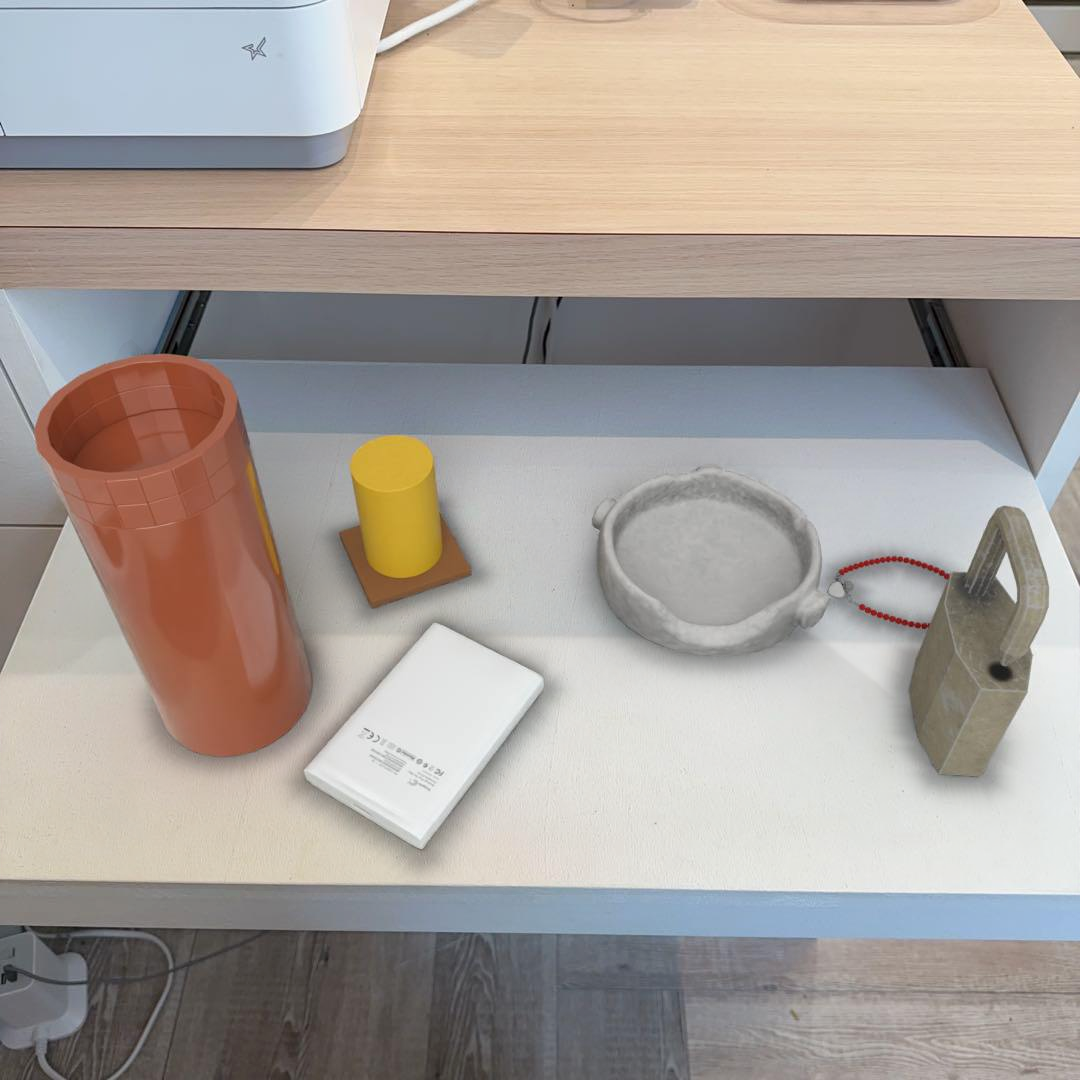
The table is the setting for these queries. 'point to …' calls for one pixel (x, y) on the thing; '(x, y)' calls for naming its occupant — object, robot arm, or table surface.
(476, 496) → the table surface
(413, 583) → the mat
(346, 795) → the hard drive
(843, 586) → the necklace
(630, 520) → the dish
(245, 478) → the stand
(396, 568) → the yellow cylinder
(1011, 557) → the padlock
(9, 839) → the table surface
